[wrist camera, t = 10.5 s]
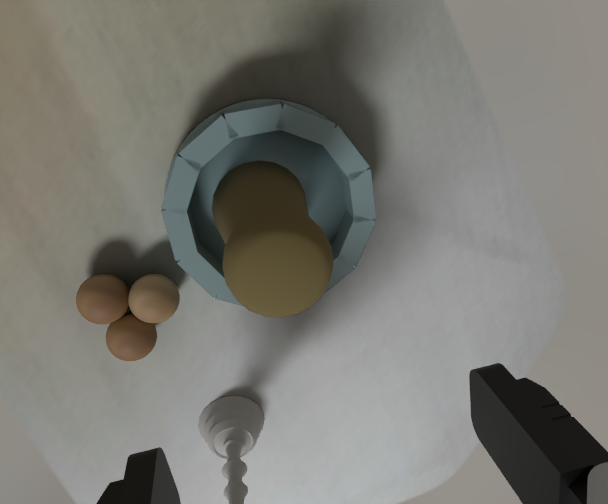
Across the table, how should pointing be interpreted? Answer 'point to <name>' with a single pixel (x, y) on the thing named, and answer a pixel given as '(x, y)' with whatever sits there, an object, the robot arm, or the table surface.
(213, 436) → the chalice
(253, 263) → the cork
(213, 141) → the dish
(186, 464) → the table surface
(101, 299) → the bead pile
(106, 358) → the table surface
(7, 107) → the table surface
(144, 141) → the table surface
